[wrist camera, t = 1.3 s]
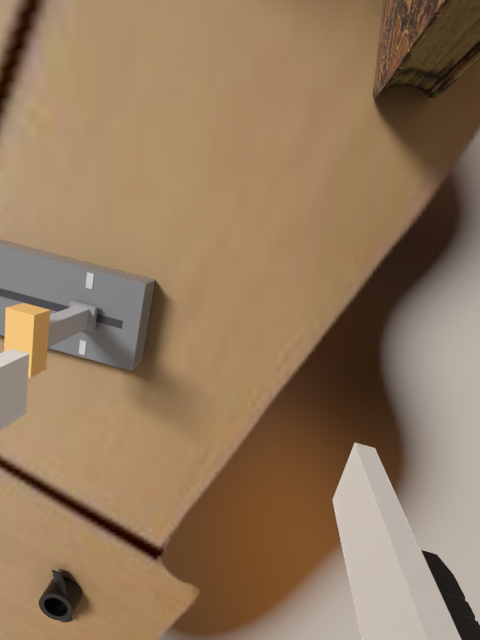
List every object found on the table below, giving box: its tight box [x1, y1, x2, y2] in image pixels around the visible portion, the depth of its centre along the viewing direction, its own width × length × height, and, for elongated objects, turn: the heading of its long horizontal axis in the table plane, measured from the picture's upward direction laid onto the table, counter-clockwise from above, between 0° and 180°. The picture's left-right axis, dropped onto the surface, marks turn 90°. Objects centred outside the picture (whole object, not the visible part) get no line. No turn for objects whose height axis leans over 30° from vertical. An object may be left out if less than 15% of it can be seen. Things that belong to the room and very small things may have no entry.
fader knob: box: [4, 301, 98, 378], centre depth 33 cm, size 3×6×10 cm, turn 167°
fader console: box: [0, 240, 155, 371], centre depth 40 cm, size 28×11×3 cm, turn 76°
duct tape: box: [39, 570, 82, 622], centre depth 54 cm, size 8×10×3 cm
